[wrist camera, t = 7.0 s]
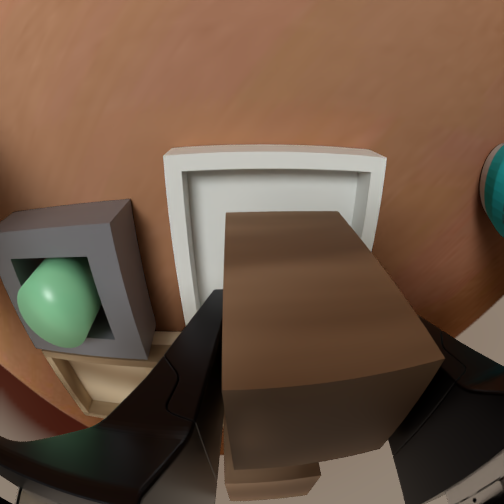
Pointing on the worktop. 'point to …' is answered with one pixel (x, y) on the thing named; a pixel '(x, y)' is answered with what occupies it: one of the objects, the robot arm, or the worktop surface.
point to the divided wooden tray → (105, 375)
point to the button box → (101, 263)
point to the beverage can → (494, 188)
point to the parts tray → (259, 198)
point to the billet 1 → (267, 479)
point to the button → (60, 300)
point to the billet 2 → (314, 342)
